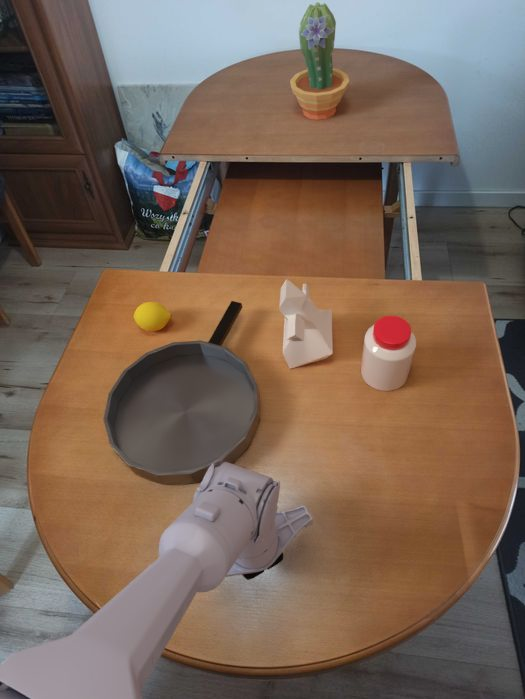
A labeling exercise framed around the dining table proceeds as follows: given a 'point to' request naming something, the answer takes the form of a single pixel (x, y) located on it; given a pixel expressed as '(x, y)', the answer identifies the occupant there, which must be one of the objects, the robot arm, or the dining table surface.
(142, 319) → the lemon
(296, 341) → the white angular piece
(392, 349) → the pill bottle
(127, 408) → the pan
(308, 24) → the potted cactus
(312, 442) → the dining table surface
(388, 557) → the dining table surface
